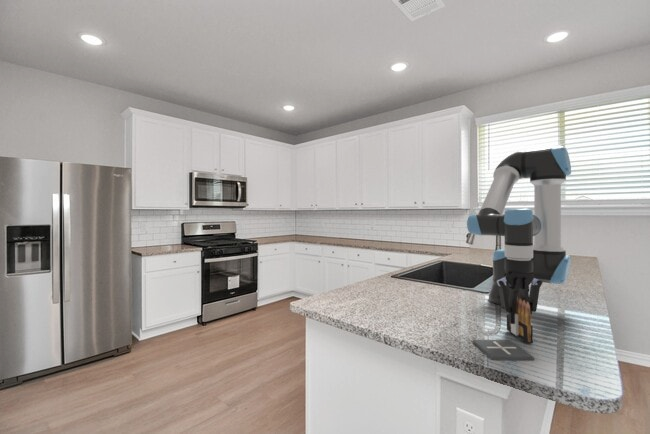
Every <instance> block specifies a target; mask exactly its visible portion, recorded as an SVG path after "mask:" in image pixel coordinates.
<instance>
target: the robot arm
mask: <svg viewBox="0 0 650 434" xmlns="http://www.w3.org/2000/svg"><path fill="white" fill-rule="evenodd" d="M570 159H571V158H570V155H569V152H568V150H567V148H566V147H565V146H562V145H558V146H557V145H556V146H550V145H549V146H546V147H537V148H533V149H525V150H518V151H516V152H514V153H511V154H510V155H508V156H507V157H505V158H504V159H503V160H502V161H501V162H500V163H499V164H498V165H497V166H496V168H495V169H494V172H493V180H492V183H491V185H490V186H489V189H488V191H487V194H486V196H485V198H484V201H483V202H482V205H481V207H480V209H479V212H478V213H477V214H476V213H475V214H470V215H469V216H468V217H467V221H466V228H467V231H468V233H469V234H471V235H475V236H476V235H478V236H493V237H494V236H498V237H499V236H501V237H503V238H504V248H501V249H496V250H494V251H493V253H492V255H493V256H492V279H493V280H492V285H491V288H490V290H489V293H488V302H490V303H493V304H495V305H499V306H501V310H503V311H505V312H507V314H508V321H509V322H510V323H511V332H512V334H513V335H514V334H515V335H514V336H516V335H519V327H518V314H517V313H516V305H517V297H518V299H520V298H521V300H522V302H523V300H525V303H527V302H528V303H529V306H530V315H531V316H532V315H533V313H535V312H537V310H538V309H537V307H538V302H539V296H540V294H539V293H540V290H541V286H542V285H543V283H546V284H549V285H552V284H553V285H563V284H566V282H567V280H568V278H569V277H568V276H569V273H570V270H571V261H572V260H571V258H572V257H571V255H569V254H567V253H566V250H567V249H565V248H564V247H563V246H562V245H561V244H562V240H561V239H562V238H561V237H562V233H561V232H562V227H561V226H562V209H561V208H562V184H564V182H566V181H567V176H570V175H571V174H572V166H571V160H570ZM521 179H529V182H530V184H532V185H533V186H534V189H533V190H534V198H533V199H534V201H533V202H534V203H533V205H534V210H533V209H531V208H507V209H505V208H506V205H507V203H508V201H509V197H510V196H511V192H512V191H513V187H514V186H515V184H517V183H518V182H519V180H521ZM504 210H505V211H504ZM533 211H534V214H533ZM503 213H504V214H503ZM530 284H531V285H530ZM511 332H510V333H511Z"/></svg>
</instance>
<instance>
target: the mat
mask: <svg viewBox="0 0 650 434" xmlns="http://www.w3.org/2000/svg"><path fill="white" fill-rule="evenodd" d="M472 340H473V341H472V343H473V344H474V345H476V347H477V348H478V349H479V350H480V351H481V352H483V354H485V355H486V356H487V357H488V358H489V359H490V360H493V361H534V360H535V356H534V355H532V354H531V353H529V352H528V351H527V350H525V349H524V348H522V347H521V346H519V344H516V343H515V342H514V341H513V340H511V339H472Z"/></svg>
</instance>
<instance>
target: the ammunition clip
mask: <svg viewBox="0 0 650 434" xmlns="http://www.w3.org/2000/svg"><path fill="white" fill-rule="evenodd" d="M516 313H517V314H518V327H519V335H515V334H513V333H512V332H511V323H510V322H509V321H508V313H507V314H506V330H507V331H508V332H510V333H512V334H513V335H514V336H515V337H517V338H518V339H520V340H521V341H523V342H524V343H526V344H533V343H534V339H533V338H534V337H533V331H534V330H533V325H532V314H531V315H530V306H529V303H528V302H527V303H525V300H523V302H522V300H521V298H520V299H518V297H517V305H516Z"/></svg>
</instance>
